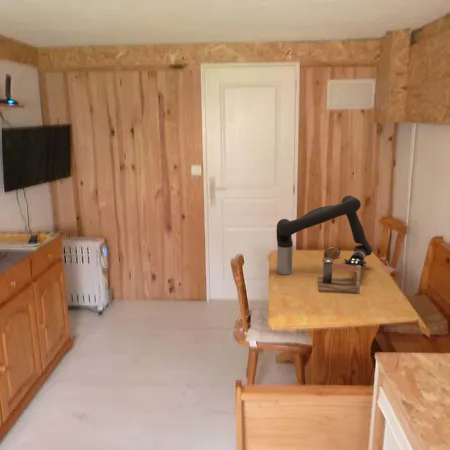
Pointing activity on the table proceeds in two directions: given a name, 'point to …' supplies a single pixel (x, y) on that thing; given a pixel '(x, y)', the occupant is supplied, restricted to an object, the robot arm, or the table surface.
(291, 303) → the table surface
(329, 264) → the capstan
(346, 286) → the base
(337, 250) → the tin
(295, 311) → the table surface
